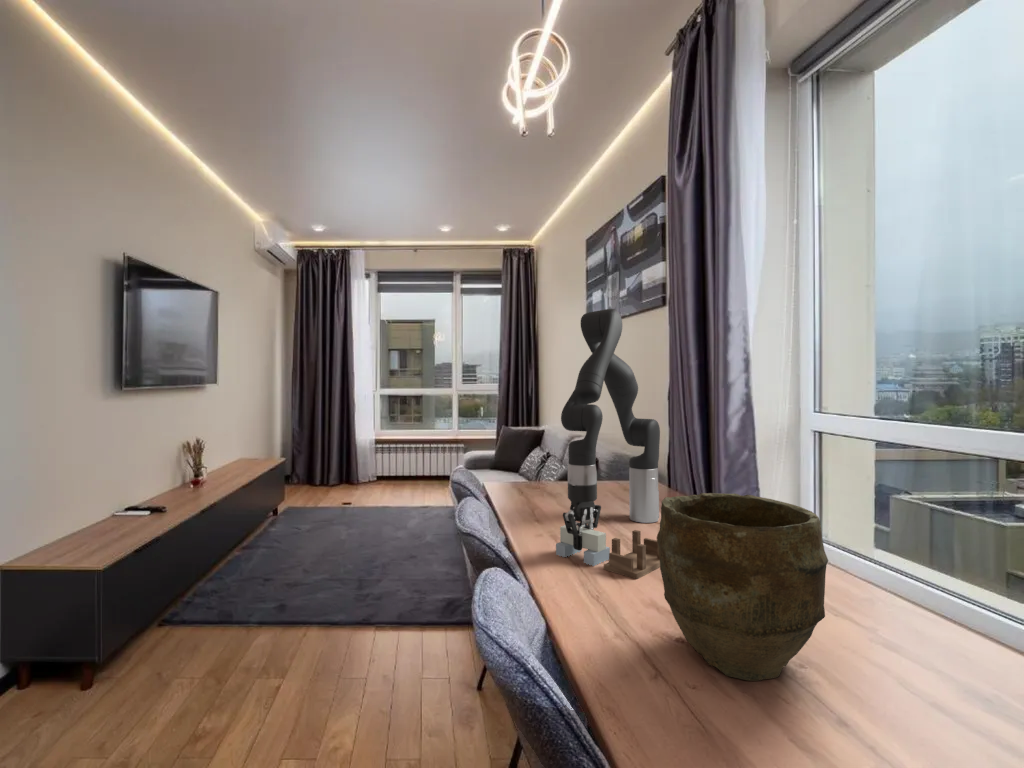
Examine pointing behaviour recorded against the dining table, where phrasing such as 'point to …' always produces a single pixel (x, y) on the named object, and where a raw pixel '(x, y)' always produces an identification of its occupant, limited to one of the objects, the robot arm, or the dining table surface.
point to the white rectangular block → (586, 538)
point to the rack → (634, 557)
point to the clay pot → (742, 578)
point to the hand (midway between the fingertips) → (582, 547)
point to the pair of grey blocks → (589, 555)
